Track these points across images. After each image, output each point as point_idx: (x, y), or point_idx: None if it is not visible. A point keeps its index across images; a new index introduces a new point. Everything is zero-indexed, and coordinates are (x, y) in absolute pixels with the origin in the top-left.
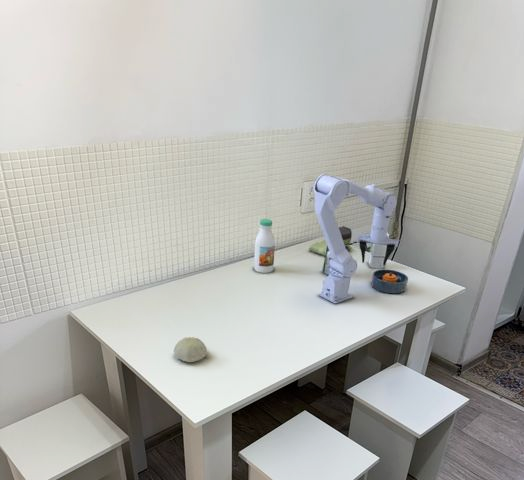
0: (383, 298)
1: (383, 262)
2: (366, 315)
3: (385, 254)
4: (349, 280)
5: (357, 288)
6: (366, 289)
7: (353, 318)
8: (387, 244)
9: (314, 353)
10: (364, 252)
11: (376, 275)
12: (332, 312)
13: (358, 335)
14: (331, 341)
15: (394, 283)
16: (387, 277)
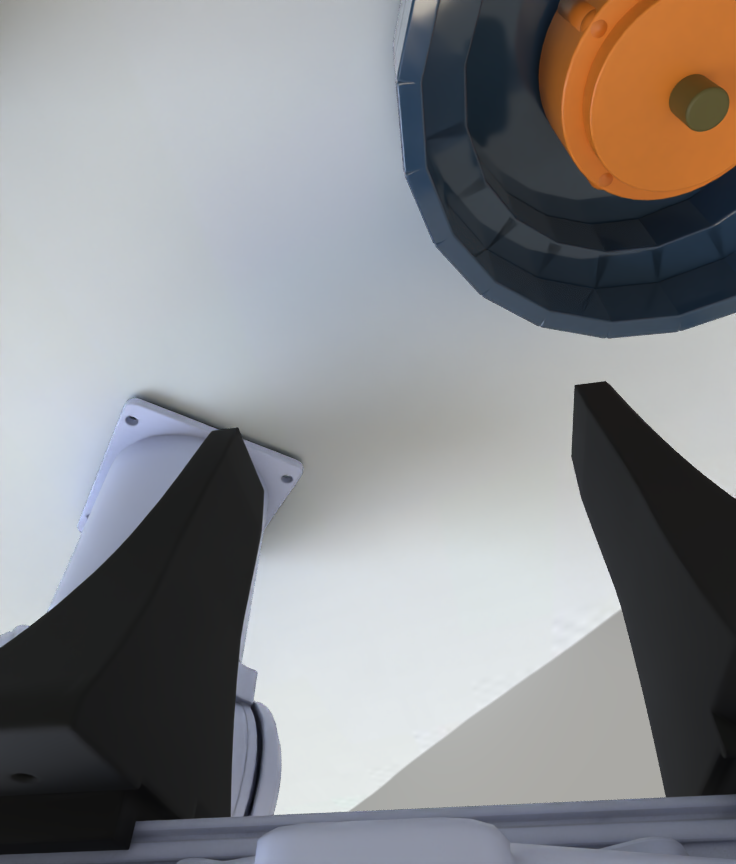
0: (557, 371)
1: (578, 409)
2: (448, 606)
3: (634, 510)
4: (246, 631)
5: (281, 274)
6: (374, 255)
7: (385, 645)
8: (717, 841)
9: (318, 805)
10: (225, 681)
11: None
12: (260, 635)
13: (438, 723)
14: (346, 765)
15: (703, 321)
16: (630, 184)
